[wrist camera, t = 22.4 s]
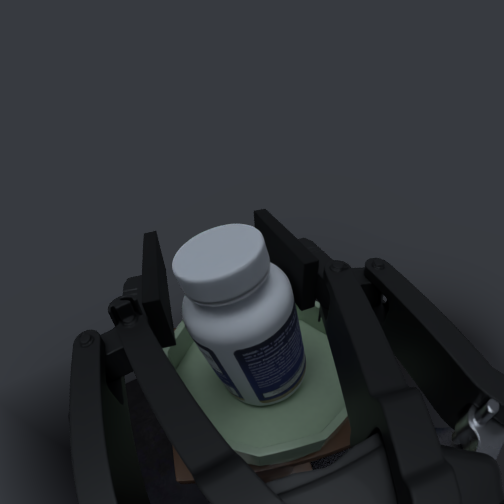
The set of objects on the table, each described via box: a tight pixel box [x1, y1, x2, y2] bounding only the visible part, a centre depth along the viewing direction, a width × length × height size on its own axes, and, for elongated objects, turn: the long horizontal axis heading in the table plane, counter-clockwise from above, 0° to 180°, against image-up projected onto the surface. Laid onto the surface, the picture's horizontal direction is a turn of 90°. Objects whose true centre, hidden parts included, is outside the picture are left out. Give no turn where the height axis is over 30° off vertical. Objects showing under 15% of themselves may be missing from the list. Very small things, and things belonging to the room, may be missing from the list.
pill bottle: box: [172, 224, 306, 406], centre depth 14 cm, size 5×5×10 cm
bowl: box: [162, 301, 348, 466], centre depth 16 cm, size 13×13×3 cm
